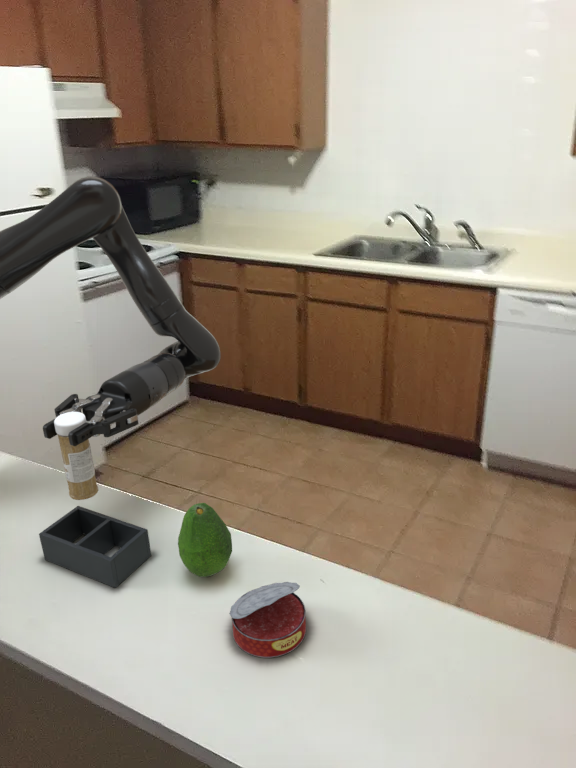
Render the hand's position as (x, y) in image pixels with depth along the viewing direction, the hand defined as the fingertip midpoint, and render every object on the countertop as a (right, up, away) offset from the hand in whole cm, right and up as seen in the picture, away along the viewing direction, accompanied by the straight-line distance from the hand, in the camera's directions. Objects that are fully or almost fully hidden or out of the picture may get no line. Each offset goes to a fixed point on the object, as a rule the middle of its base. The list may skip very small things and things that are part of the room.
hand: (58, 436), depth 98 cm
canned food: (+31, -25, -8) cm, 41 cm away
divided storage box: (+4, -19, +7) cm, 21 cm away
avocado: (+22, -21, +3) cm, 30 cm away
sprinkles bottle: (+2, -10, +7) cm, 12 cm away
